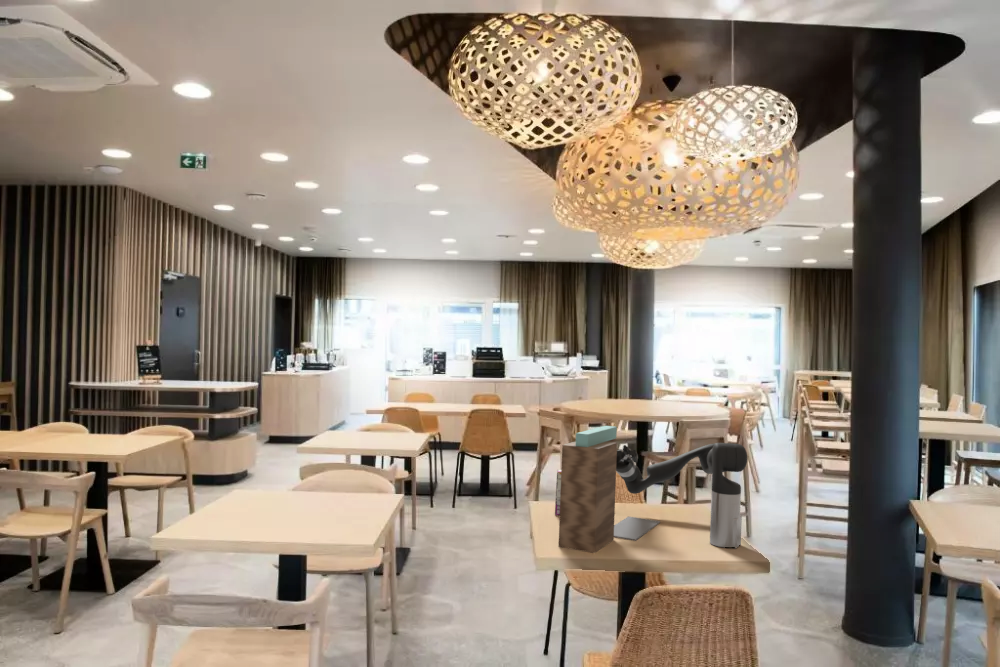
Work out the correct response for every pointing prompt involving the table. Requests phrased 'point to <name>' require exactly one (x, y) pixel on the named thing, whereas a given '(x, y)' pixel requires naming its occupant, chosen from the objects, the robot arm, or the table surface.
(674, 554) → the table surface
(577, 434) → the teal bar
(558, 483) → the candy bar box
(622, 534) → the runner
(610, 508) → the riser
